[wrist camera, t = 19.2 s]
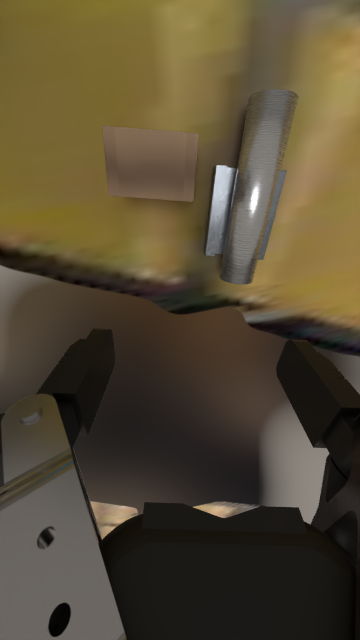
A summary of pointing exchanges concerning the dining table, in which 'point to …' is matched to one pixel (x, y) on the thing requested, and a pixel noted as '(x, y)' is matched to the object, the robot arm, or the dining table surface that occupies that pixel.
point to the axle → (256, 180)
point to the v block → (222, 206)
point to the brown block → (150, 163)
